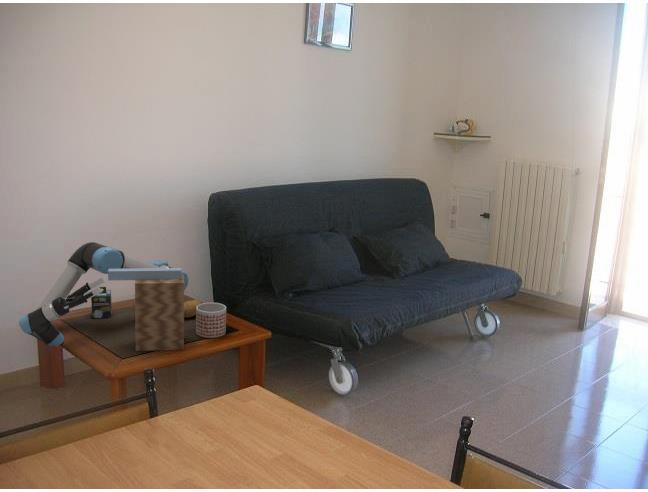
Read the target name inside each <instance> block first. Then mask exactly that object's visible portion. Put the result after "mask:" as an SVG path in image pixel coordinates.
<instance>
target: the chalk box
mask: <svg viewBox="0 0 648 492" xmlns="http://www.w3.org/2000/svg"><path fill="white" fill-rule="evenodd" d="M99 288H100V289H101V291H102V292H101V293H99V294H97V295H95V296H93V297H91V298H90V301H91V302H90V303H91V318H92V319H109V318H112V315H113V308H112V307H113V304H112V291H111V289H107V286H99Z"/></svg>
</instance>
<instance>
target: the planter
mask: <svg viewBox="0 0 648 492" xmlns="http://www.w3.org/2000/svg"><path fill="white" fill-rule="evenodd" d="M226 333H227V306H226V305H225V304H223V303H219V302H204V303H201V304H200V305H198V306H197V307H196V315H195V334H196V336H198V337H201V338H205V339H217V338H222V337H223V336H225V335H226Z"/></svg>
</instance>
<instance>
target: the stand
mask: <svg viewBox="0 0 648 492" xmlns="http://www.w3.org/2000/svg"><path fill="white" fill-rule="evenodd" d="M184 302H185V290H184V274H181V279H174V280H134V313H135V314H134V318H135V319H134V321H135V322H134V323H135V325H134V326H135V327H134V328H135V351H136V352H145V351H148V352H149V351H172V350H173V351H175V350H176V351H177V350H185V347H184V346H185V343H184V342H185V340H184V339H185V326H184V325H185V317H184Z"/></svg>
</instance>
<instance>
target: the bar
mask: <svg viewBox="0 0 648 492" xmlns="http://www.w3.org/2000/svg"><path fill="white" fill-rule="evenodd" d="M181 270H182V268H181V267H173V268H131V269H109V270H108V274H107V279H108V280H107V282H109V281H110V282H111V281H135V280H174V279H181Z"/></svg>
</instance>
